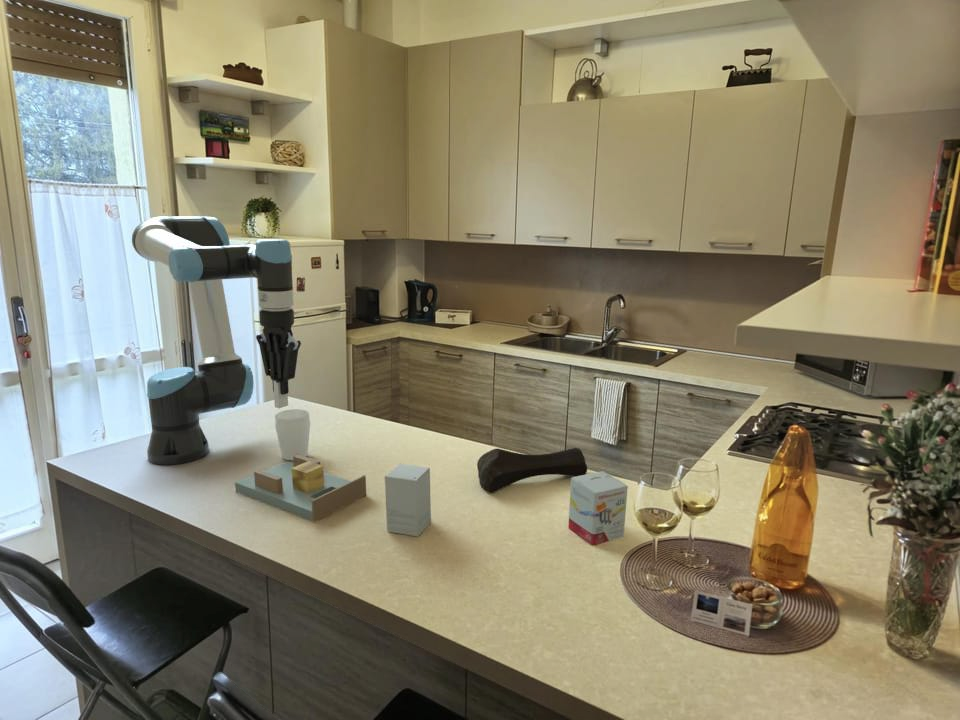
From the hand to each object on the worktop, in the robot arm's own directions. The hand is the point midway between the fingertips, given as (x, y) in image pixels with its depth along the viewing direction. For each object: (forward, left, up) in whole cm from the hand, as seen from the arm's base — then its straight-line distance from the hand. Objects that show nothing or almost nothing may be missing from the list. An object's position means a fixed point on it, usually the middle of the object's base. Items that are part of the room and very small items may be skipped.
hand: (281, 406), depth 149 cm
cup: (-13, +13, -20) cm, 27 cm away
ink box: (+72, +20, -20) cm, 78 cm away
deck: (+7, -2, -20) cm, 21 cm away
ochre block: (+10, -2, -18) cm, 20 cm away
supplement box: (+38, 0, -20) cm, 43 cm away
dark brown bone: (+48, +36, -20) cm, 63 cm away
